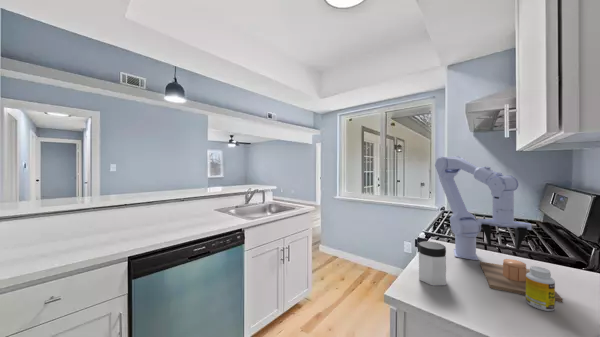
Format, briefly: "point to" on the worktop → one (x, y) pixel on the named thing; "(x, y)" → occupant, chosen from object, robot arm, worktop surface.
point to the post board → (505, 280)
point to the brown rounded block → (514, 270)
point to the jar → (432, 263)
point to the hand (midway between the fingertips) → (503, 246)
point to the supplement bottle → (540, 289)
